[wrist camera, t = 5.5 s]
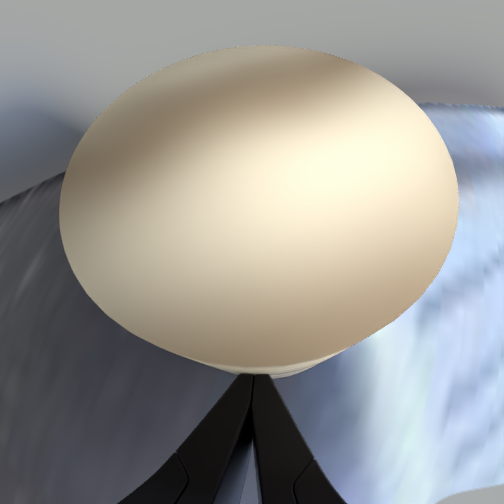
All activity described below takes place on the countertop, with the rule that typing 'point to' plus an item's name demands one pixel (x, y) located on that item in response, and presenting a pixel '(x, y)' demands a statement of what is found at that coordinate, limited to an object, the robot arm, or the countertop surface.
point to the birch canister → (259, 207)
